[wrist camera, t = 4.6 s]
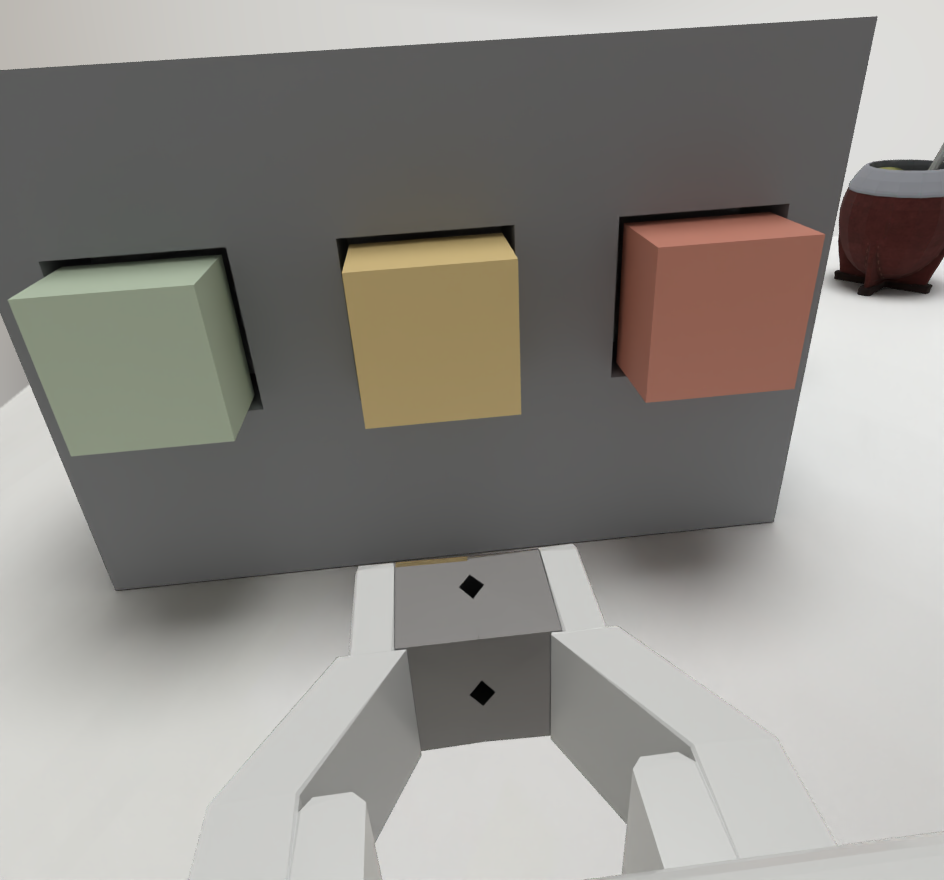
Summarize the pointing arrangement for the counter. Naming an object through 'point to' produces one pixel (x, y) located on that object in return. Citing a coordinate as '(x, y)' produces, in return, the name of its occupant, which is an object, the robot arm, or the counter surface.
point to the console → (420, 217)
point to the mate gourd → (893, 225)
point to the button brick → (715, 304)
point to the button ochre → (435, 328)
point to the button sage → (138, 353)
